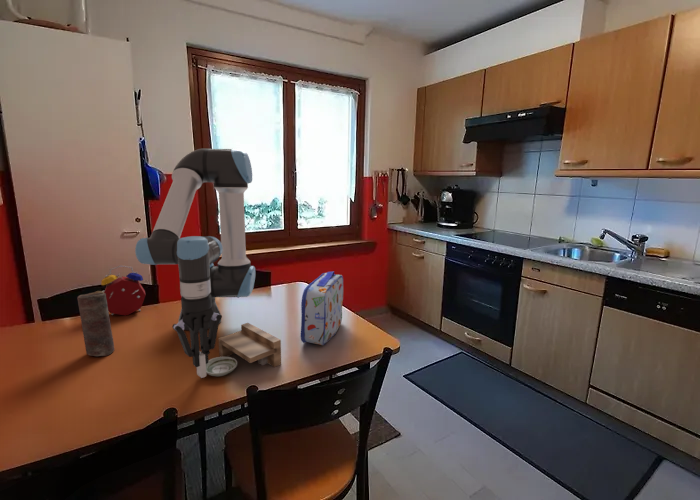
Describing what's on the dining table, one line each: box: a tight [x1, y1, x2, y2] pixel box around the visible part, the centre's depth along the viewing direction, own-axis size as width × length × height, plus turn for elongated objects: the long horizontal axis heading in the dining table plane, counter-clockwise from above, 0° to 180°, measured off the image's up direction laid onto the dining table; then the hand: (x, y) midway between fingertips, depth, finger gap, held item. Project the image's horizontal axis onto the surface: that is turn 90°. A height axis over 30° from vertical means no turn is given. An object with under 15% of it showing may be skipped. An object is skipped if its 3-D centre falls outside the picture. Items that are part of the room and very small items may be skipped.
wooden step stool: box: [218, 322, 282, 368], centre depth 113 cm, size 18×10×8 cm, turn 47°
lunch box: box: [299, 271, 344, 346], centre depth 131 cm, size 28×10×22 cm, turn 168°
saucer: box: [206, 356, 238, 377], centre depth 106 cm, size 10×10×2 cm
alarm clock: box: [100, 265, 146, 317], centre depth 146 cm, size 15×9×20 cm, turn 121°
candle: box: [77, 290, 115, 357], centre depth 114 cm, size 8×7×20 cm
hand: (201, 375), depth 103 cm, fingers closed
